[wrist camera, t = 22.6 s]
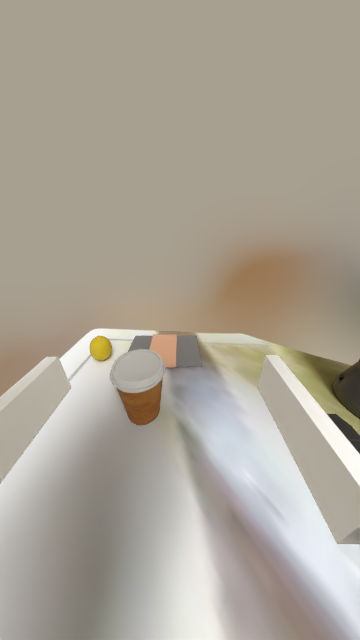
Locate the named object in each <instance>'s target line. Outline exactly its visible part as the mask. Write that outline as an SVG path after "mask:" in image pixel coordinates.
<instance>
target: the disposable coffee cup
mask: <svg viewBox="0 0 360 640" xmlns="http://www.w3.org/2000/svg"><path fill="white" fill-rule="evenodd" d="M165 369H166V366H165V363H164V361H163V360H162V358H161V356H160V355H159V354H158V353H157V352H155V351H152V350H147V349H138V350H133V351H130V352H127V353H125V354H123V355H121V356H120V357H119V358H118V359H117V360H116V361H115V362H114V364H113V366H112V370H111V373H110V379H111V381H112V383H113V385H114V386H115V387H116V388H117V390H118V392H119V395H120V397H121V400H122V402H123V404H124V407H125V409H126V412H127V414H128V416H129V419H130V420H131V421H132V422H133V423H134V424H137V425H145V424H148V423H150V422H152V421H153V420H154V419H155V418H156V417H157V415H158V414H159V410H160V399H161V389H162V379H163V375H164V373H165Z"/></svg>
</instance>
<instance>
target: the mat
mask: <svg viewBox="0 0 360 640" xmlns="http://www.w3.org/2000/svg"><path fill="white" fill-rule="evenodd" d="M152 338H153V336H135V338H134V340H133V342H132V344H131V347H130V349H129V351H128V352H130V351H133V350H138V349H147V350H149V348H150V345H151V341H152ZM176 367H202V365H201V359H200V354H199V348H198V342H197V336H177V353H176Z"/></svg>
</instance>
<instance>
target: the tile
mask: <svg viewBox="0 0 360 640" xmlns="http://www.w3.org/2000/svg"><path fill="white" fill-rule="evenodd" d="M149 350H152V351H155V352H157V353H158V354H159V355H160V356H161V358H162V360H163V361H164V363H165V366H166V367H176V353H177V335H153V338H152V341H151V345H150V348H149Z"/></svg>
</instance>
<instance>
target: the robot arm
mask: <svg viewBox="0 0 360 640" xmlns="http://www.w3.org/2000/svg"><path fill="white" fill-rule="evenodd" d="M70 389H71V386H70V384H69V381H68V379H67V377H66V374H65V372H64V369H63V367H62V365H61V362H60V360H59V358H58V357H46V358H45V359H43V360H42V361H41V362H40V363H39V364H38V365H37V366H35V367H34V368H33V369H32V370H31V371H30V372H29V373H28V374H26V375H25V376H24V377H23V378H22V379H21V380H19V381H18V382H17V383H16V384H15V385H14V386H12V387H11V388H10V389H9V390H8V391H7V392H5V393H4V394H3V395H2V396H1V397H0V483H1V482H2V481H3V479H4V478H5V477H6V475H7V474H8V472H9V471H10V470H11V468H12V467H13V466H14V464H15V463H16V462H17V460H18V459H19V458H20V456H21V455H22V454H23V452H24V451H25V450H26V448H27V447H28V446H29V444H30V443H31V442H32V440H33V439H34V437H35V436H36V435H37V433H38V432H39V431H40V429H41V428H42V427H43V425H44V424H45V423H46V421H47V420H48V419H49V417H50V416H51V415H52V413H53V412H54V411H55V409H56V408H57V407H58V405H59V404H60V402H61V401H62V400H63V398H64V397H65V396H66V394H67V393H68V392H69V390H70ZM258 389H259V391H260V393H261V395H262V397H263V399H264V401H265V403H266V405H267V407H268V409H269V411H270V413H271V415H272V417H273V419H274V421H275V423H276V425H277V427H278V429H279V431H280V432H281V434H282V436H283V438H284V440H285V442H286V444H287V446H288V448H289V450H290V452H291V454H292V456H293V458H294V460H295V462H296V464H297V466H298V468H299V470H300V472H301V474H302V476H303V478H304V480H305V482H306V484H307V486H308V488H309V490H310V491H311V493H312V495H313V497H314V499H315V501H316V503H317V505H318V507H319V509H320V511H321V513H322V515H323V517H324V519H325V521H326V523H327V525H328V527H329V529H330V531H331V533H332V535H333V537H334V539H335V541H336V543H337V544H360V435H359V434H358V433H357V432H356V431H355V430H354V429H353V428H352V426H351V425H349V424H348V423H347V422H345V421H344V420H343V419H342V418H340V417H339V416H338V415H336V414H326V413H325V411H324V410H323V409H322V408H321V407H320V405H319V404H318V403H317V402H316V401H315V399H314V398H313V397H312V396H311V395H310V393H309V392H308V391H307V390H306V388H305V387H304V386H303V385H302V384H301V382H300V381H299V380H298V379H297V378H296V376H295V375H294V374H293V373H292V371H291V370H290V369H289V368H288V367H287V365H286V364H285V363H284V362H283V361H282V359H281V358H280V357H279V356H278V355H266V356H265V360H264V363H263V367H262V371H261V375H260V379H259V383H258ZM333 391H334V393H335V395H336V397H337V398H338V399H339V401H340V402H341V403H342V404H343V405H344V406H345V407H346V408H347V409H348V410H349V411H351V412H352V413H353V414H354V415H356V416H357V417H359V418H360V360H359V361H358V362H357V363H356V364H354V365H353V366H351V367H350V368H348V369H347V370H345V371H344V372H343V373H341V374H340V375H339V376H338V377H337V378H336V380H335V382H334V384H333Z"/></svg>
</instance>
